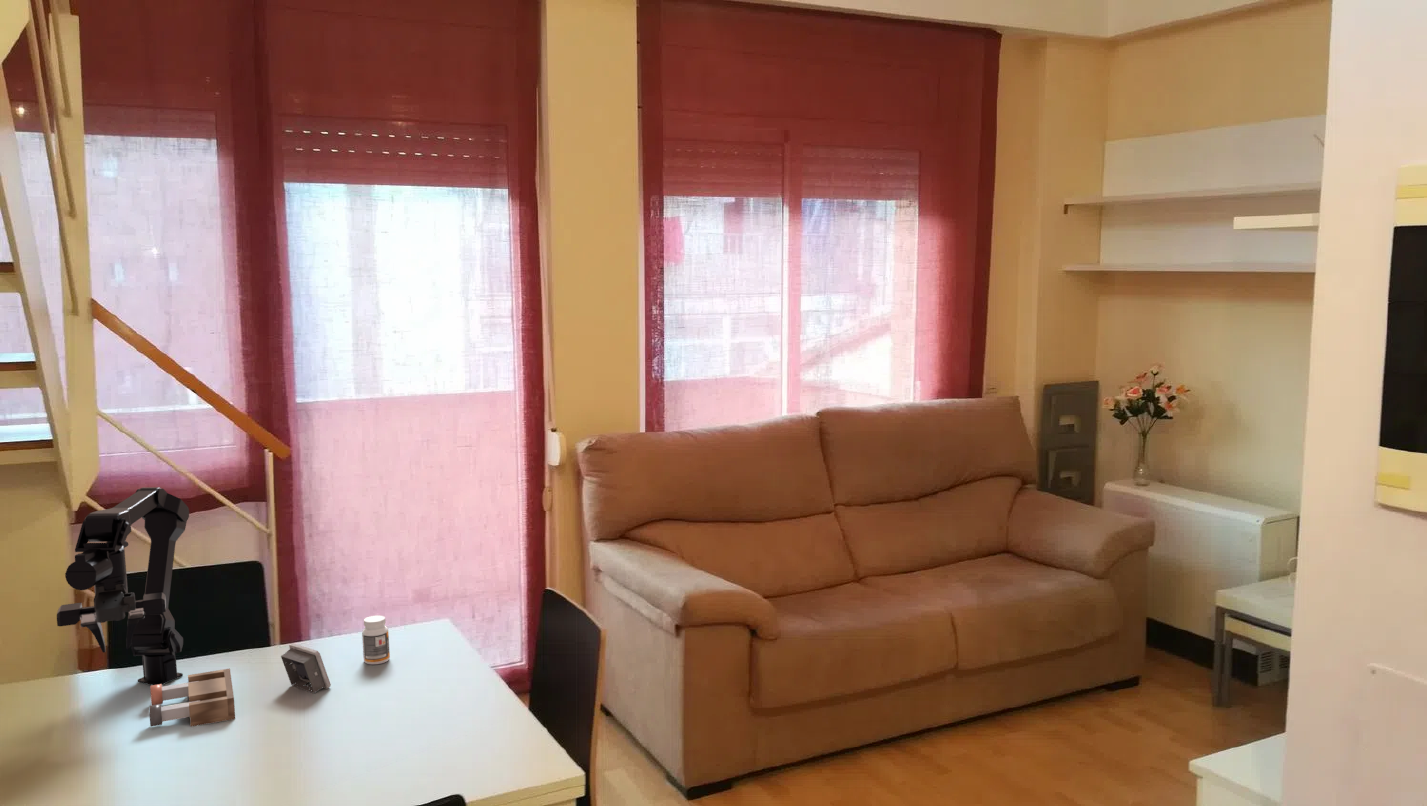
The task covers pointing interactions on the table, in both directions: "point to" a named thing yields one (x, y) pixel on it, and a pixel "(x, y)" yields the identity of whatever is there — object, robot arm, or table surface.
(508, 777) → the table surface
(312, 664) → the electrical switch
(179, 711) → the white and gray knob
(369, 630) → the pill bottle
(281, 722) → the table surface
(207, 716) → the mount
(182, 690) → the red knob
